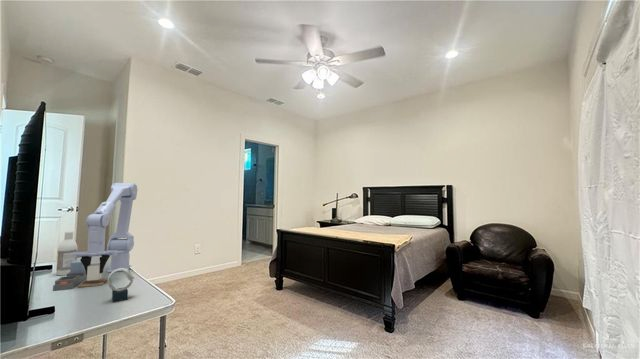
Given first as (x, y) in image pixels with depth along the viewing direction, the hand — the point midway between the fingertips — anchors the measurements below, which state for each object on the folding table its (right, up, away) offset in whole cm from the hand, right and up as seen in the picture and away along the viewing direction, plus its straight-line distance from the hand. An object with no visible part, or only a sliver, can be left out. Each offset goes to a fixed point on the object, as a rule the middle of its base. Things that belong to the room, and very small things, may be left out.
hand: (94, 273), depth 115 cm
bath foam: (-24, -5, +12) cm, 27 cm away
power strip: (-11, -4, +3) cm, 12 cm away
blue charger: (-11, -2, +5) cm, 13 cm away
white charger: (0, -2, 0) cm, 2 cm away
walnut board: (0, -4, 0) cm, 4 cm away
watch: (+23, -4, -16) cm, 28 cm away
